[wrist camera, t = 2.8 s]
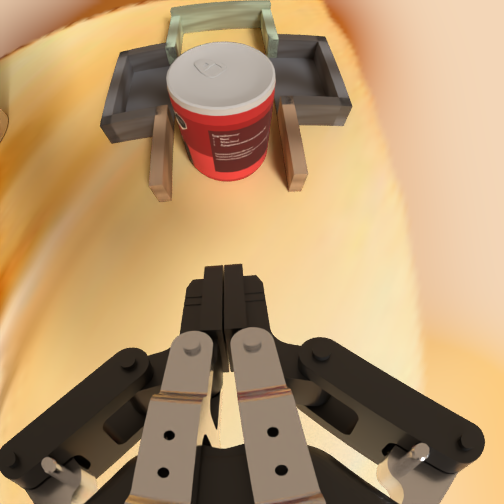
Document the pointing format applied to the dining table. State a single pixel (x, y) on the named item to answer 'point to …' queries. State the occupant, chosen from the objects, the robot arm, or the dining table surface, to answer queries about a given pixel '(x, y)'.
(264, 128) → the canned food
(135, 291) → the dining table surface
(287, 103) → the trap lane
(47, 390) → the dining table surface
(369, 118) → the dining table surface
